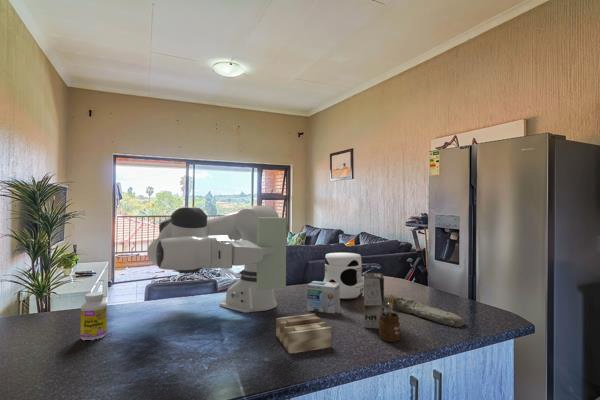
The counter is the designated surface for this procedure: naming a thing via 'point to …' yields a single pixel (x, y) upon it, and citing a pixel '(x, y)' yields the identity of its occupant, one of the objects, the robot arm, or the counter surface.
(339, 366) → the counter surface
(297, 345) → the birch rack
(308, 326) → the oak offcut
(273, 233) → the tall panel
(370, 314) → the coffee box
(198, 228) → the robot arm
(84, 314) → the supplement bottle
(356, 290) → the spotted cookie jar
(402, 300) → the elongated rock
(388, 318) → the utensil holder
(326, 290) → the light bulb box
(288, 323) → the walnut offcut
